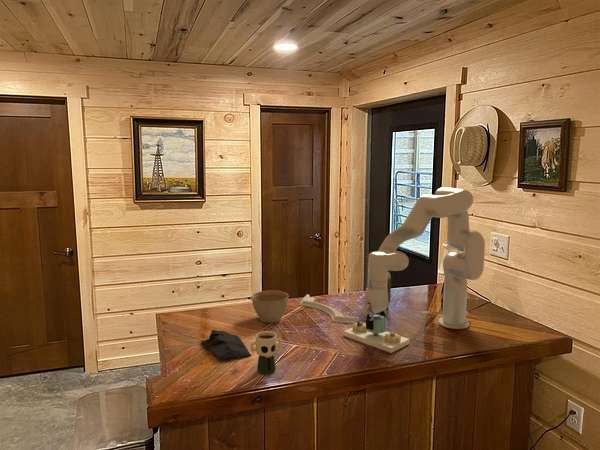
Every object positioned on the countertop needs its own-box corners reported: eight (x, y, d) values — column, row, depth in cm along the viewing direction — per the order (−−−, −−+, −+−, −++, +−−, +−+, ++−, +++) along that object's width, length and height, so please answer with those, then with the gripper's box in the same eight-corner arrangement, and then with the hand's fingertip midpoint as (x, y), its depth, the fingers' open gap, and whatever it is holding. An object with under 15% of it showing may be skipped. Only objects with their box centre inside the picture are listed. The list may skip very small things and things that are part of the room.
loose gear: (374, 324, 192) (374, 313, 192) (389, 329, 187) (390, 317, 186) (362, 330, 187) (363, 318, 186) (378, 335, 182) (378, 322, 181)
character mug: (254, 378, 156) (253, 341, 154) (248, 369, 162) (247, 333, 160) (285, 373, 160) (285, 336, 158) (277, 364, 166) (277, 329, 164)
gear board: (362, 327, 200) (362, 309, 199) (408, 343, 184) (409, 324, 183) (343, 335, 192) (344, 316, 190) (391, 353, 176) (391, 332, 174)
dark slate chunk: (212, 365, 166) (212, 352, 166) (199, 342, 186) (199, 330, 186) (254, 358, 172) (254, 345, 172) (237, 336, 192) (237, 325, 192)
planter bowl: (263, 311, 221) (263, 288, 219) (294, 316, 214) (294, 293, 212) (245, 322, 206) (244, 298, 205) (277, 328, 199) (277, 303, 198)
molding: (365, 323, 207) (365, 317, 206) (343, 329, 200) (343, 322, 200) (310, 298, 242) (310, 292, 241) (290, 302, 235) (290, 296, 235)
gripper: (382, 277, 193) (381, 318, 196) (355, 286, 181) (354, 329, 184) (398, 281, 188) (396, 323, 190) (371, 290, 175) (370, 335, 178)
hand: (375, 326), depth 187 cm, fingers closed on loose gear, 7 cm apart
